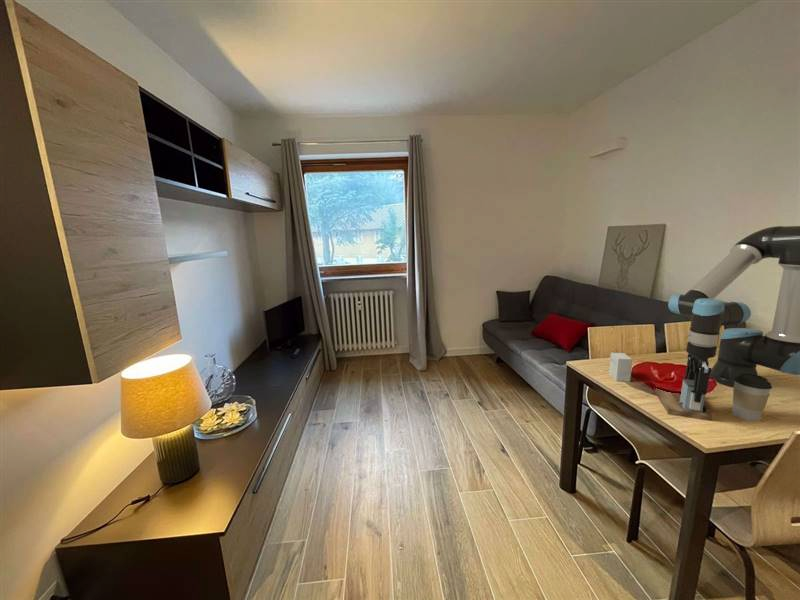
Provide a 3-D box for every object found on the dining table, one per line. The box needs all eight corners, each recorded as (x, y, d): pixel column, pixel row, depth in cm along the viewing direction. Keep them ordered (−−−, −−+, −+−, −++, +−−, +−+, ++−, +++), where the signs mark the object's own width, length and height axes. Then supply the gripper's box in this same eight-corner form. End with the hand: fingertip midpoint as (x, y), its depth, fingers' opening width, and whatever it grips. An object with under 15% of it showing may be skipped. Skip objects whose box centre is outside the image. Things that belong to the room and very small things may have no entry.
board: (691, 396, 131) (693, 387, 130) (711, 421, 114) (713, 411, 113) (654, 390, 136) (655, 382, 135) (668, 414, 119) (669, 404, 118)
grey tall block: (696, 405, 120) (700, 381, 118) (702, 412, 116) (706, 387, 114) (675, 402, 122) (679, 378, 120) (680, 409, 118) (684, 384, 116)
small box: (630, 382, 144) (632, 359, 142) (615, 381, 145) (618, 358, 143) (622, 374, 151) (624, 352, 149) (608, 373, 153) (610, 352, 150)
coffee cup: (763, 415, 116) (771, 375, 113) (766, 426, 110) (775, 384, 107) (727, 406, 122) (734, 368, 119) (728, 417, 116) (736, 377, 113)
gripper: (679, 334, 123) (670, 392, 128) (697, 351, 107) (686, 416, 112) (705, 336, 120) (695, 395, 125) (728, 354, 104) (715, 420, 109)
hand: (691, 405), depth 118 cm, fingers closed on grey tall block, 5 cm apart
